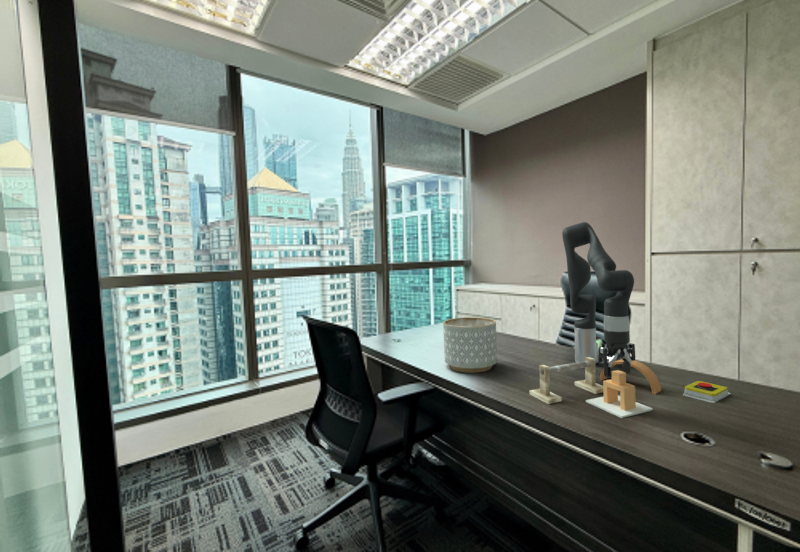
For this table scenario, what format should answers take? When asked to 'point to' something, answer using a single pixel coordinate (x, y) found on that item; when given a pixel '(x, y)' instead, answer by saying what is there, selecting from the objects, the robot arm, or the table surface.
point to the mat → (618, 407)
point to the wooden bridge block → (620, 385)
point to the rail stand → (585, 384)
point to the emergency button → (706, 391)
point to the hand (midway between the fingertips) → (617, 375)
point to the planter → (470, 344)
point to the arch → (644, 370)
